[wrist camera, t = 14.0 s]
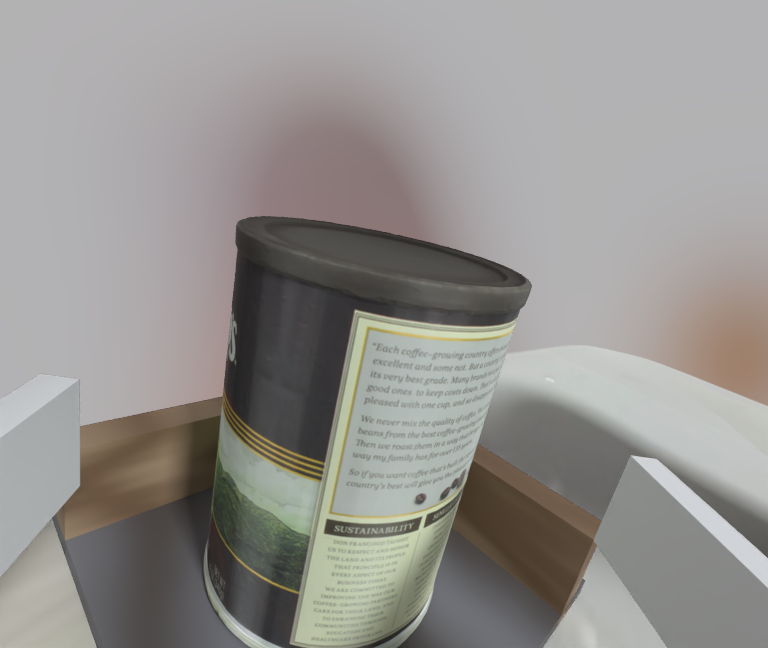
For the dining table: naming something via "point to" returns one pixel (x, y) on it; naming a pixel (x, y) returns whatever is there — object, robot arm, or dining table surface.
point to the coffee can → (347, 427)
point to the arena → (191, 529)
